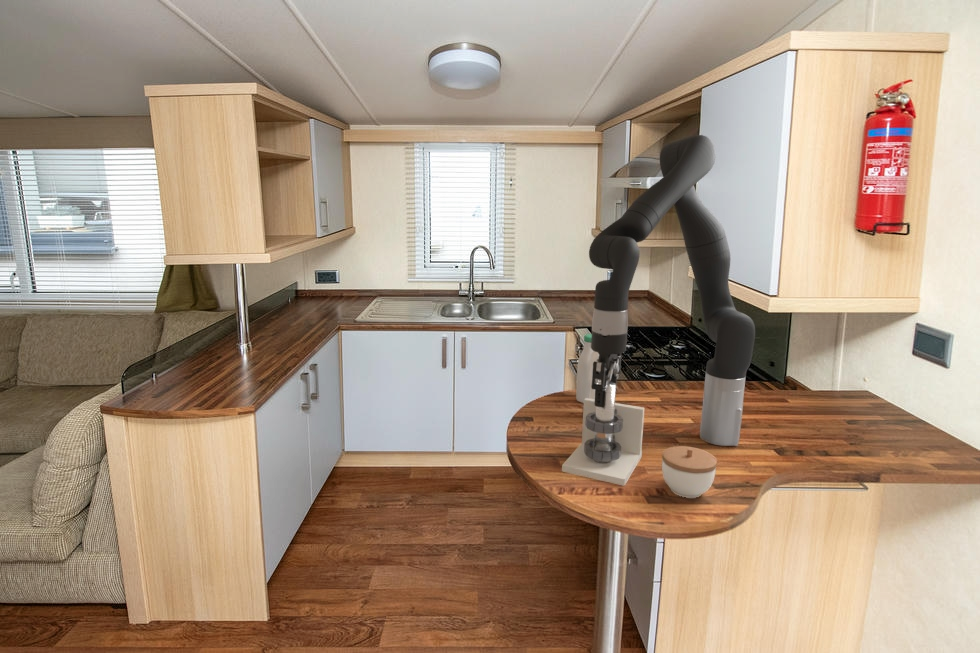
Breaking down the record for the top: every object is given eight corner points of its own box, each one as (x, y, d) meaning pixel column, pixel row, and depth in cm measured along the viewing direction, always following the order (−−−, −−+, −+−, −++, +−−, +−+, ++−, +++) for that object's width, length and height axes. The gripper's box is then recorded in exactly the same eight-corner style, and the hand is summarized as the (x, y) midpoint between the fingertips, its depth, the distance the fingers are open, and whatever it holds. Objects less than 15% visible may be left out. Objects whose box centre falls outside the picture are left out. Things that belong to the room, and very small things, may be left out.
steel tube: (596, 454, 136) (600, 380, 132) (613, 457, 134) (618, 382, 130) (590, 461, 132) (595, 385, 128) (608, 465, 130) (613, 388, 126)
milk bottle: (606, 403, 174) (610, 337, 169) (582, 405, 172) (585, 339, 167) (594, 395, 181) (598, 331, 177) (571, 397, 179) (574, 333, 174)
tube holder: (641, 456, 138) (645, 406, 136) (624, 485, 124) (628, 430, 122) (584, 445, 144) (586, 396, 142) (561, 471, 130) (564, 418, 128)
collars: (627, 445, 137) (629, 411, 135) (615, 464, 128) (617, 427, 126) (594, 439, 141) (596, 405, 139) (579, 456, 131) (581, 420, 129)
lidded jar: (649, 482, 126) (652, 442, 124) (692, 476, 129) (695, 436, 127) (679, 507, 116) (683, 463, 114) (725, 499, 119) (729, 457, 117)
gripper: (602, 321, 134) (598, 388, 138) (582, 333, 122) (578, 407, 125) (634, 324, 131) (630, 394, 135) (618, 338, 119) (613, 413, 122)
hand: (605, 400), depth 130 cm, fingers open, 8 cm apart
